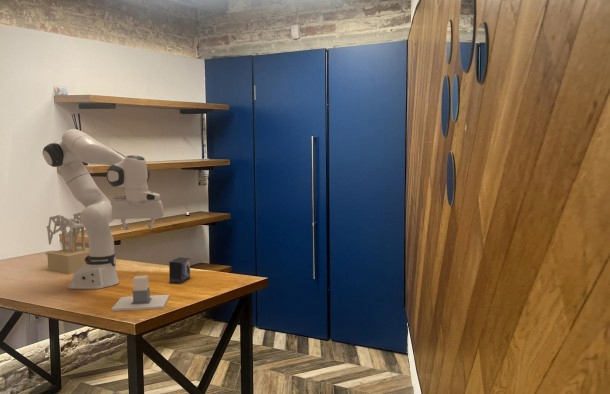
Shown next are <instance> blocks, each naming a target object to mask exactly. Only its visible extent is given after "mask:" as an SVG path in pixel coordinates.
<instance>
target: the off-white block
mask: <svg viewBox="0 0 610 394" xmlns="http://www.w3.org/2000/svg"><path fill="white" fill-rule="evenodd" d="M132 285H133V290H134V291H146V290H147V289H148V287H149V288H150V286H149V285H150V284H149V274H148V275H135V276H134V277H133V278H132Z"/></svg>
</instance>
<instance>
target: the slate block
mask: <svg viewBox="0 0 610 394" xmlns="http://www.w3.org/2000/svg"><path fill="white" fill-rule="evenodd" d="M150 291H151V290H150V286H149V287H148V289H147V290H146V291H134V289H133V290H132V296H133V303H147V302H148V301H149V299H150V296H151V293H150Z"/></svg>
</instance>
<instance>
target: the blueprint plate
mask: <svg viewBox="0 0 610 394" xmlns="http://www.w3.org/2000/svg"><path fill="white" fill-rule="evenodd" d="M170 295H171V294H159V295H158V294H156V295H155V294H153V295H150V299H149V301H148V302H147V303H133V295H132V296H121V297H120V298H119V300H117V302H115V304H114V305H113V306H112V307H111V312H123V311H140V310H141V311H144V310H162V309H164V308H165V306H166V305H167V303H168V301H169V299H170V297H171V296H170Z"/></svg>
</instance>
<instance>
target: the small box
mask: <svg viewBox="0 0 610 394" xmlns="http://www.w3.org/2000/svg"><path fill="white" fill-rule="evenodd" d="M168 266H169V269H168V270H169V284H183V283H184V282H186V281H188V280H190V279H191V258H190V257H177V258H174V259H173V260H169V262H168Z"/></svg>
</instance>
